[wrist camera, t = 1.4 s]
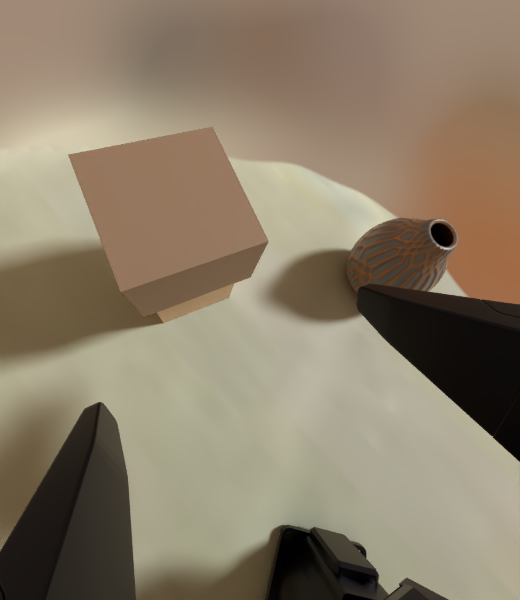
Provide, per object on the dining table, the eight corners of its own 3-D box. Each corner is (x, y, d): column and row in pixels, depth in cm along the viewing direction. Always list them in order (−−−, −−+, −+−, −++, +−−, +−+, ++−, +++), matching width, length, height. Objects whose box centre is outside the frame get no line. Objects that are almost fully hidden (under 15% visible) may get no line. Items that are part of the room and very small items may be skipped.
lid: (250, 277, 18) (268, 241, 13) (143, 317, 16) (120, 292, 11) (208, 187, 19) (211, 125, 14) (104, 215, 17) (67, 152, 12)
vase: (322, 280, 26) (380, 235, 17) (357, 232, 28) (423, 171, 20) (380, 327, 26) (466, 304, 17) (411, 275, 28) (500, 232, 20)
